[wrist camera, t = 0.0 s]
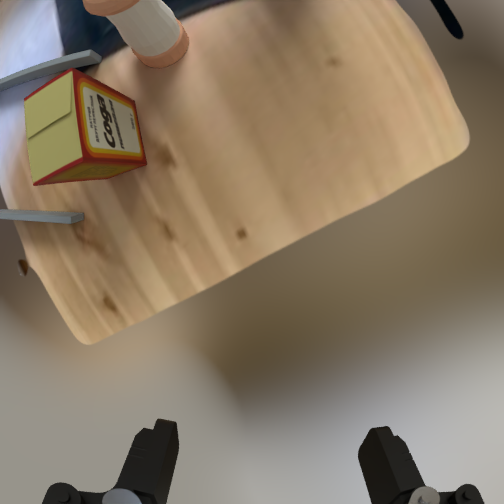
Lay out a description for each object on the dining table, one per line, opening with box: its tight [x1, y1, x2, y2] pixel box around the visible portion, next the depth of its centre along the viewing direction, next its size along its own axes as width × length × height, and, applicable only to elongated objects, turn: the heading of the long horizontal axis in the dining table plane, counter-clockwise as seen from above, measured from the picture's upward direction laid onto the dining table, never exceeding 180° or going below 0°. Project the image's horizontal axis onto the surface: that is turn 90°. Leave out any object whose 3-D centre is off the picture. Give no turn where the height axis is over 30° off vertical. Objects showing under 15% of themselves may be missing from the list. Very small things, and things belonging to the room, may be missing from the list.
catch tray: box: [0, 50, 102, 224], centre depth 32 cm, size 25×27×4 cm
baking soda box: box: [24, 67, 147, 186], centre depth 26 cm, size 10×6×16 cm
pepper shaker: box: [83, 0, 189, 68], centre depth 21 cm, size 7×7×19 cm
